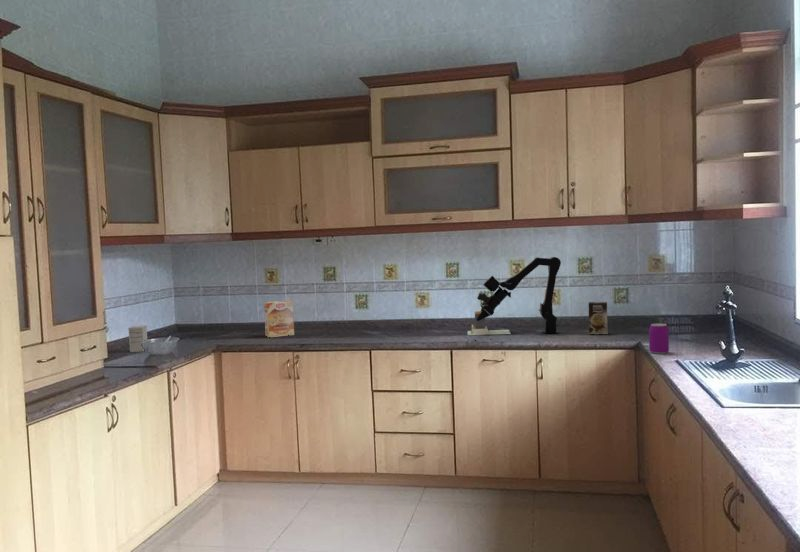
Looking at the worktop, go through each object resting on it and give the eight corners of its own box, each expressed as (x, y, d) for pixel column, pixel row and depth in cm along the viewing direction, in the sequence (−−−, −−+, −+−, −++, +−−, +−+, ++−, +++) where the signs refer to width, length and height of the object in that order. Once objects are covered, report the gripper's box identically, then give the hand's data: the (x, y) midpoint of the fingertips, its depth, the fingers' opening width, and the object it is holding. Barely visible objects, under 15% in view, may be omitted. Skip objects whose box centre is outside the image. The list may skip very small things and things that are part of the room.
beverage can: (645, 351, 296) (645, 324, 295) (661, 350, 298) (661, 322, 297) (656, 354, 288) (655, 326, 288) (672, 353, 290) (672, 324, 289)
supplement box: (134, 349, 361) (132, 325, 360) (148, 349, 362) (146, 325, 361) (129, 352, 354) (127, 327, 353) (144, 351, 354) (142, 326, 353)
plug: (484, 331, 364) (484, 311, 364) (485, 333, 360) (484, 312, 359) (475, 331, 365) (474, 311, 364) (475, 333, 360) (474, 312, 360)
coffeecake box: (269, 337, 384) (267, 302, 382) (265, 336, 390) (263, 302, 389) (294, 335, 391) (293, 300, 390) (290, 333, 397) (288, 299, 396)
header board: (508, 332, 368) (508, 322, 368) (510, 336, 354) (510, 326, 354) (467, 333, 370) (467, 323, 370) (467, 337, 356) (467, 327, 356)
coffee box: (588, 335, 347) (588, 303, 346) (589, 333, 353) (588, 301, 352) (607, 335, 345) (607, 302, 344) (607, 333, 351) (607, 301, 350)
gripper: (485, 286, 370) (465, 307, 372) (486, 289, 351) (465, 311, 353) (500, 300, 370) (480, 321, 371) (502, 303, 351) (481, 326, 353)
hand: (476, 319), depth 362 cm, fingers open, 6 cm apart
